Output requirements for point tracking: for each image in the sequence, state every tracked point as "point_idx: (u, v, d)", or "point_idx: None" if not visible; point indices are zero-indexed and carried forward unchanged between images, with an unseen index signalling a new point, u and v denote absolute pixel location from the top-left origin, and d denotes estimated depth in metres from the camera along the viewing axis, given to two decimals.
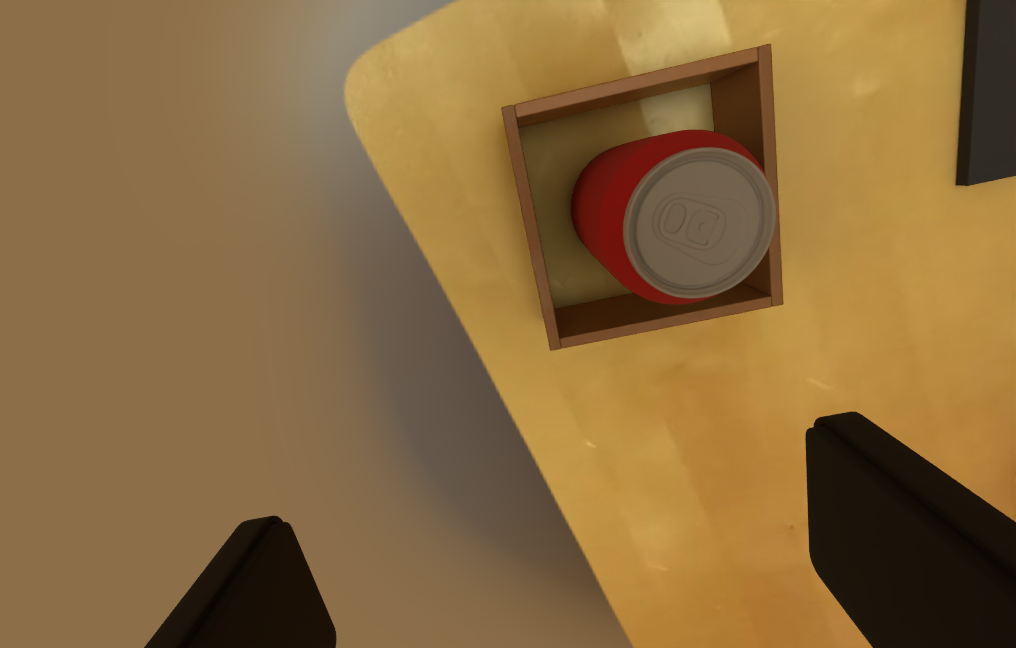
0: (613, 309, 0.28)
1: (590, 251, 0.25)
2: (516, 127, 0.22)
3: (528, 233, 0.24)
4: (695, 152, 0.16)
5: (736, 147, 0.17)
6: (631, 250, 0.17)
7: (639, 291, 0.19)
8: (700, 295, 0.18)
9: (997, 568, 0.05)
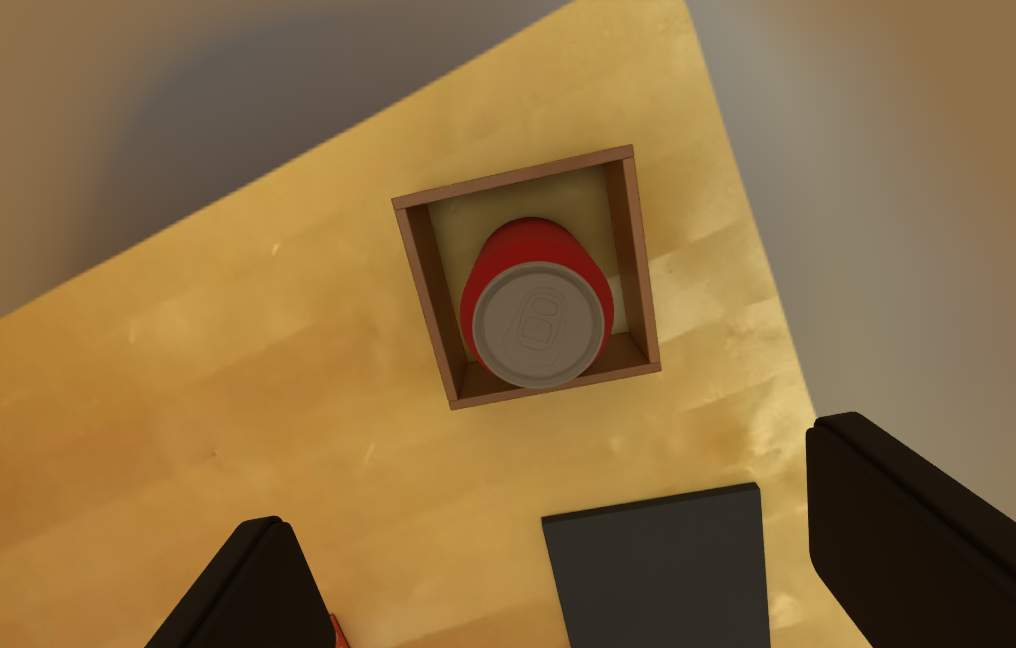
0: (433, 263, 0.28)
1: (493, 236, 0.26)
2: (613, 159, 0.23)
3: (514, 172, 0.24)
4: (601, 318, 0.19)
5: (599, 351, 0.21)
6: (517, 270, 0.19)
7: (473, 281, 0.20)
8: (475, 335, 0.19)
9: (998, 568, 0.05)
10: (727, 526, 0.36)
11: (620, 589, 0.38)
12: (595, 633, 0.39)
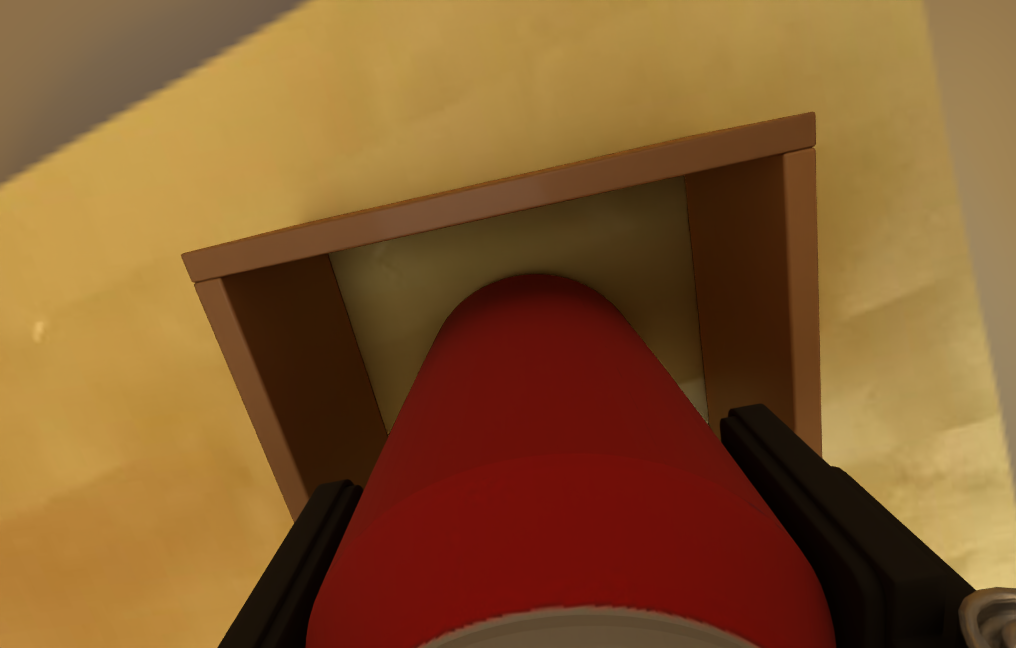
0: (330, 373, 0.13)
1: (451, 333, 0.11)
2: (761, 153, 0.09)
3: (495, 188, 0.09)
4: None
5: None
6: None
7: (332, 609, 0.05)
8: None
9: (838, 534, 0.06)
10: None
11: None
12: None
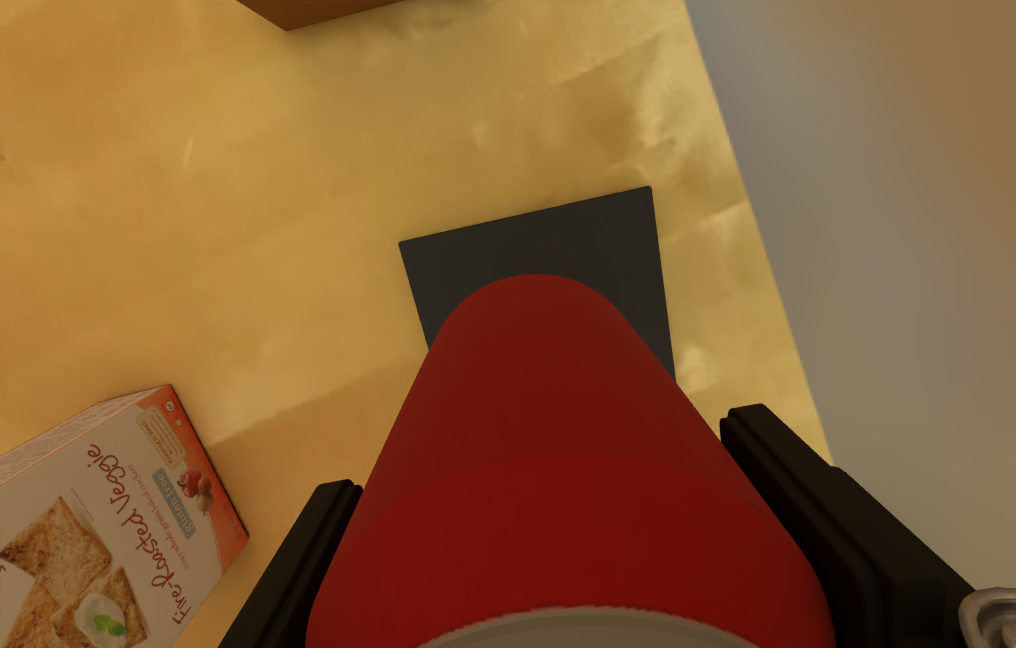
0: None
1: (451, 333, 0.11)
2: None
3: None
4: None
5: None
6: None
7: (332, 609, 0.05)
8: None
9: (838, 534, 0.06)
10: (616, 242, 0.30)
11: None
12: None
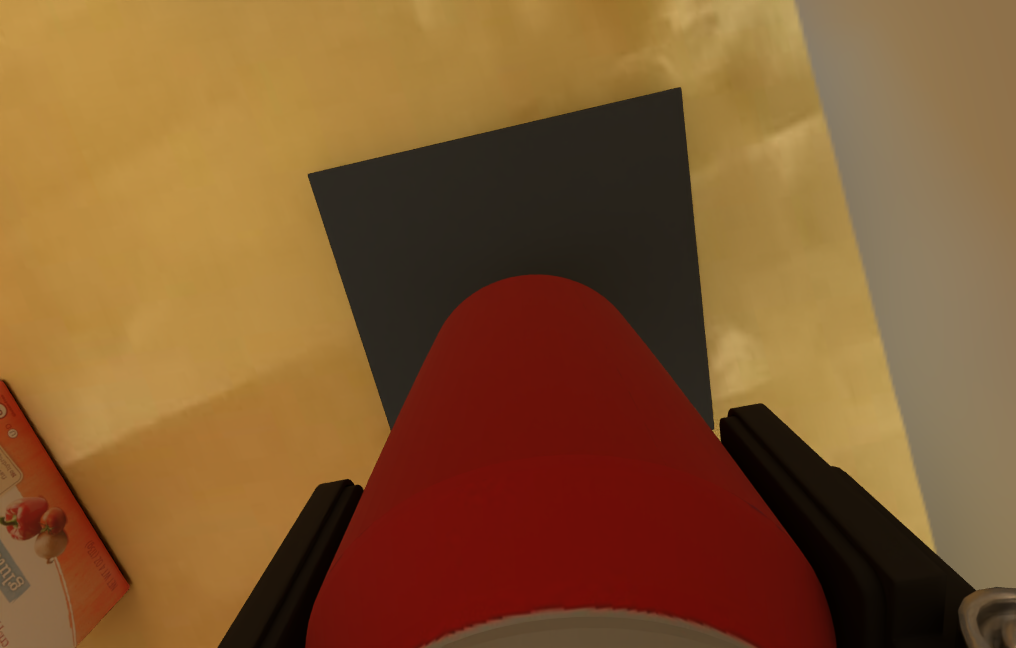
0: None
1: (451, 334, 0.11)
2: None
3: None
4: None
5: None
6: None
7: (332, 610, 0.05)
8: None
9: (838, 534, 0.06)
10: (628, 173, 0.20)
11: None
12: None
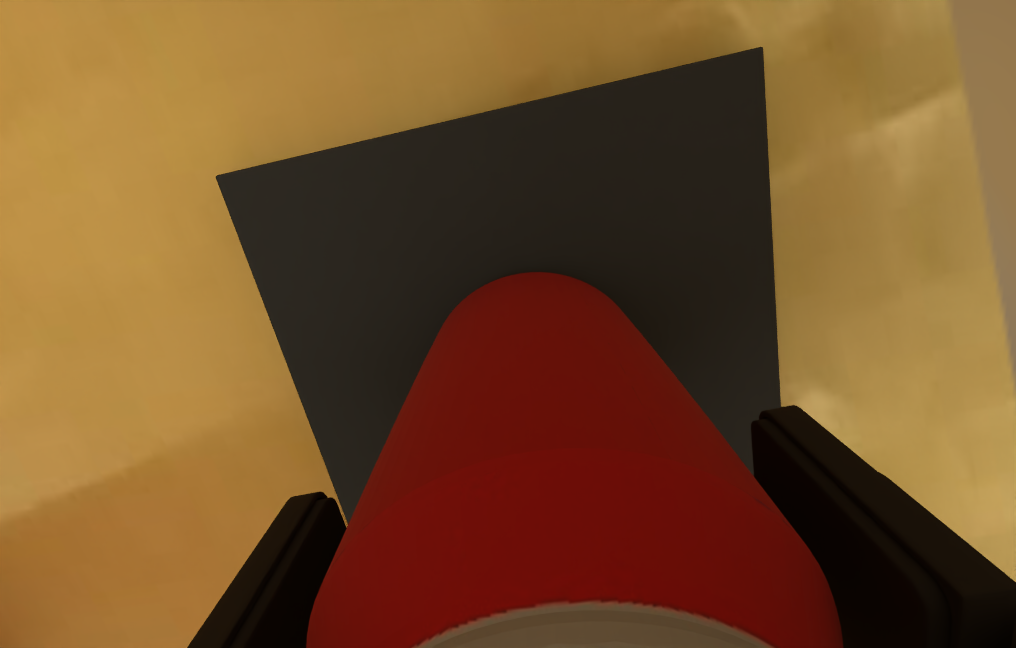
0: None
1: (452, 331, 0.11)
2: None
3: None
4: None
5: None
6: None
7: (334, 605, 0.05)
8: None
9: (894, 544, 0.05)
10: (681, 175, 0.14)
11: None
12: None
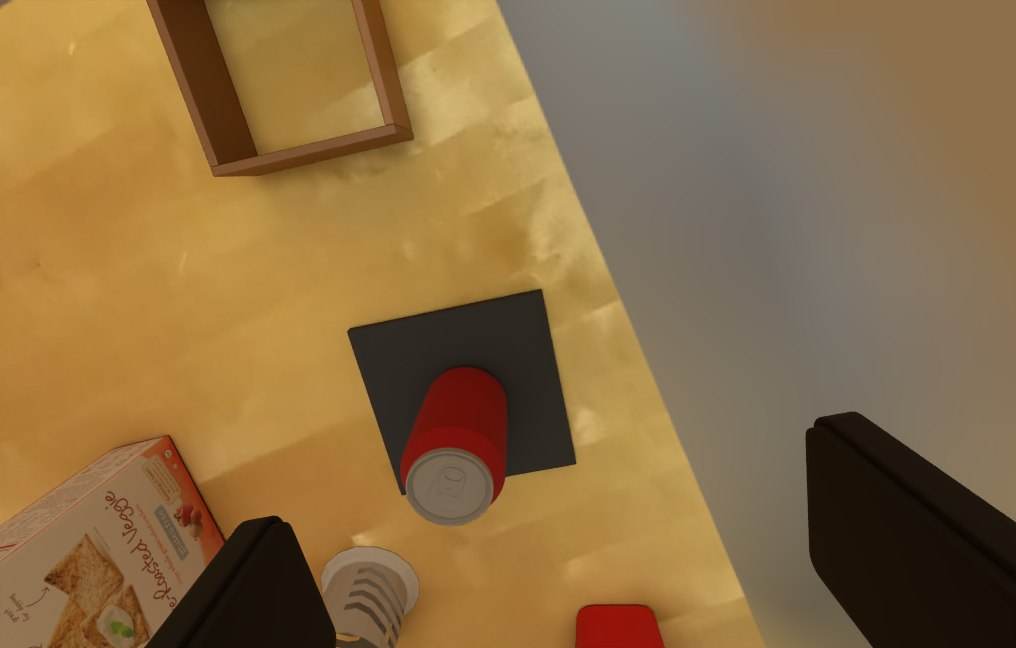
0: (200, 46, 0.31)
1: (432, 393, 0.36)
2: None
3: None
4: (491, 483, 0.29)
5: (494, 498, 0.30)
6: (433, 455, 0.28)
7: (407, 454, 0.30)
8: (407, 493, 0.29)
9: (998, 568, 0.05)
10: (517, 331, 0.39)
11: None
12: None
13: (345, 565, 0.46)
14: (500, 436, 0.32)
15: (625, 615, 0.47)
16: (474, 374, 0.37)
